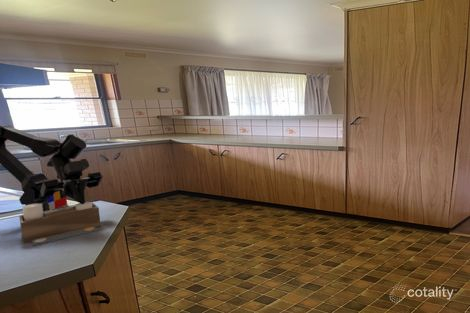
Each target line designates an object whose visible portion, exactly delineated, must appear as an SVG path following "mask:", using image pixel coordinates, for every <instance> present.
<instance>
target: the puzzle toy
mask: <svg viewBox="0 0 470 313" xmlns="http://www.w3.org/2000/svg"><path fill="white" fill-rule="evenodd" d="M58 183H61V180H60V181H59V180H58ZM54 192H55V193H54V195H53V196H51V198H50V199H46V200H47V201H48V204H49V209H50V210H53V209H54V210H55V209H60V208H63V207H64V206H67V205H68V200H67V199H68V198H67V196H66V195H62V192H63V191H62V189H58V190H54Z"/></svg>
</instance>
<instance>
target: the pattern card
mask: <svg viewBox="0 0 470 313" xmlns="http://www.w3.org/2000/svg"><path fill="white" fill-rule="evenodd" d="M97 231H98V228H97V226H96V227H95V226H91V227H87V228H83V229H78V230H74V231H70V232H65V233H61V234H56V235H52V236H48V237H43V238H39V239H35V240H32V241H31V243H32V247H35V246H38V245H42V244H47V243H52V242H54V241H59V240H64V239H67V238H68V239H69V238H72V237H77V236H81V235H84V234H89V233H93V232H97Z"/></svg>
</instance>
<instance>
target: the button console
mask: <svg viewBox="0 0 470 313" xmlns="http://www.w3.org/2000/svg"><path fill="white" fill-rule="evenodd" d="M92 207H93V208H88V209H83V210H78V211H76V208H75V205H71V206H66V207H59V208H56V209H54V210H49V211H44V212H43V215H44V217H42V218H37V219H32V220H27V221H24V214H23V215H19V216H18V217H19V224H20V230H21V231H20V232H21V236H22V242H23V244H25V243H30V242H31V243H32V240H35V239H39V238H43V237H48V236H52V235H56V234H61V233H65V232H70V231H74V230H78V229H83V228H87V227H91V226H95V227H96V228H97V227H99V226H101V216H100V207H98V206H97V205H96V204H95V203H94V202H92Z"/></svg>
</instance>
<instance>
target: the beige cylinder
mask: <svg viewBox="0 0 470 313" xmlns="http://www.w3.org/2000/svg"><path fill="white" fill-rule="evenodd" d="M92 203H93V201H91V202H90V201H85V203H84V204H81V203H79V202H78V203H77V204H75V205H74V206H75V208H76V211H78V210H83V209H88V208H93V207H92Z"/></svg>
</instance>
